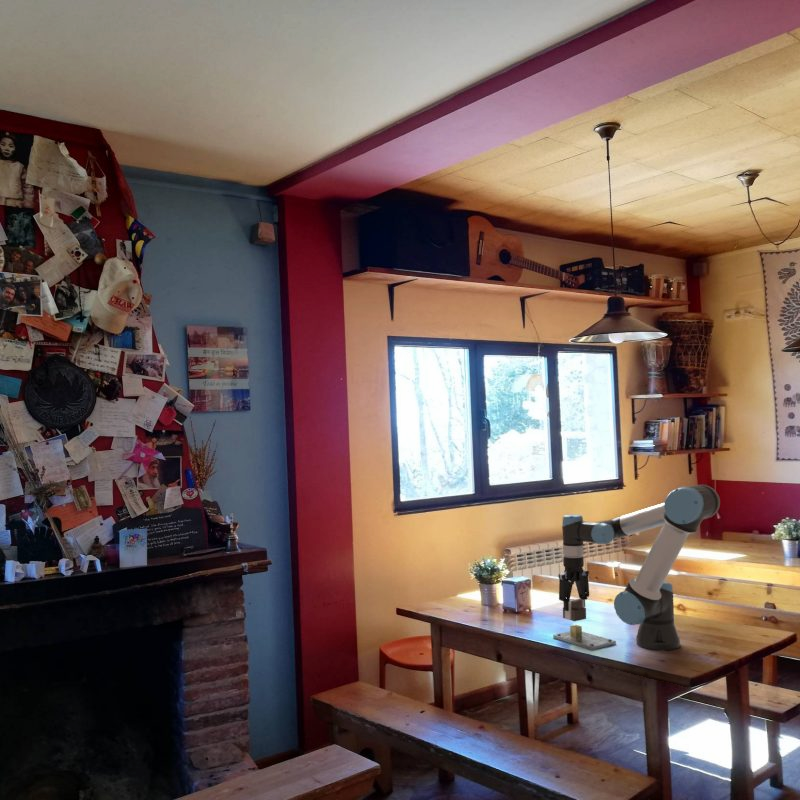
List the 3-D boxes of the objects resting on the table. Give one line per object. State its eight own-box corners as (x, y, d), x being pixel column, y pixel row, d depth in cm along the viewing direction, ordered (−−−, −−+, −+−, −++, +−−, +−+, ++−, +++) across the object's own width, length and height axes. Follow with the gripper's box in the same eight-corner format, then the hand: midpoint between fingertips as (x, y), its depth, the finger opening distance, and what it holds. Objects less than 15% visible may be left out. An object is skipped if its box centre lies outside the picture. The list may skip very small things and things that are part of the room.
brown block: (586, 618, 297) (585, 600, 297) (574, 621, 293) (574, 602, 293) (574, 615, 302) (574, 597, 302) (563, 617, 298) (562, 599, 299)
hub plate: (615, 644, 288) (615, 631, 288) (591, 650, 282) (591, 637, 282) (576, 632, 305) (576, 620, 305) (552, 638, 299) (552, 625, 299)
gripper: (584, 552, 306) (585, 612, 306) (547, 557, 296) (549, 619, 296) (598, 554, 300) (600, 616, 299) (561, 560, 290) (563, 623, 289)
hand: (574, 617), depth 297 cm, fingers closed on brown block, 6 cm apart
